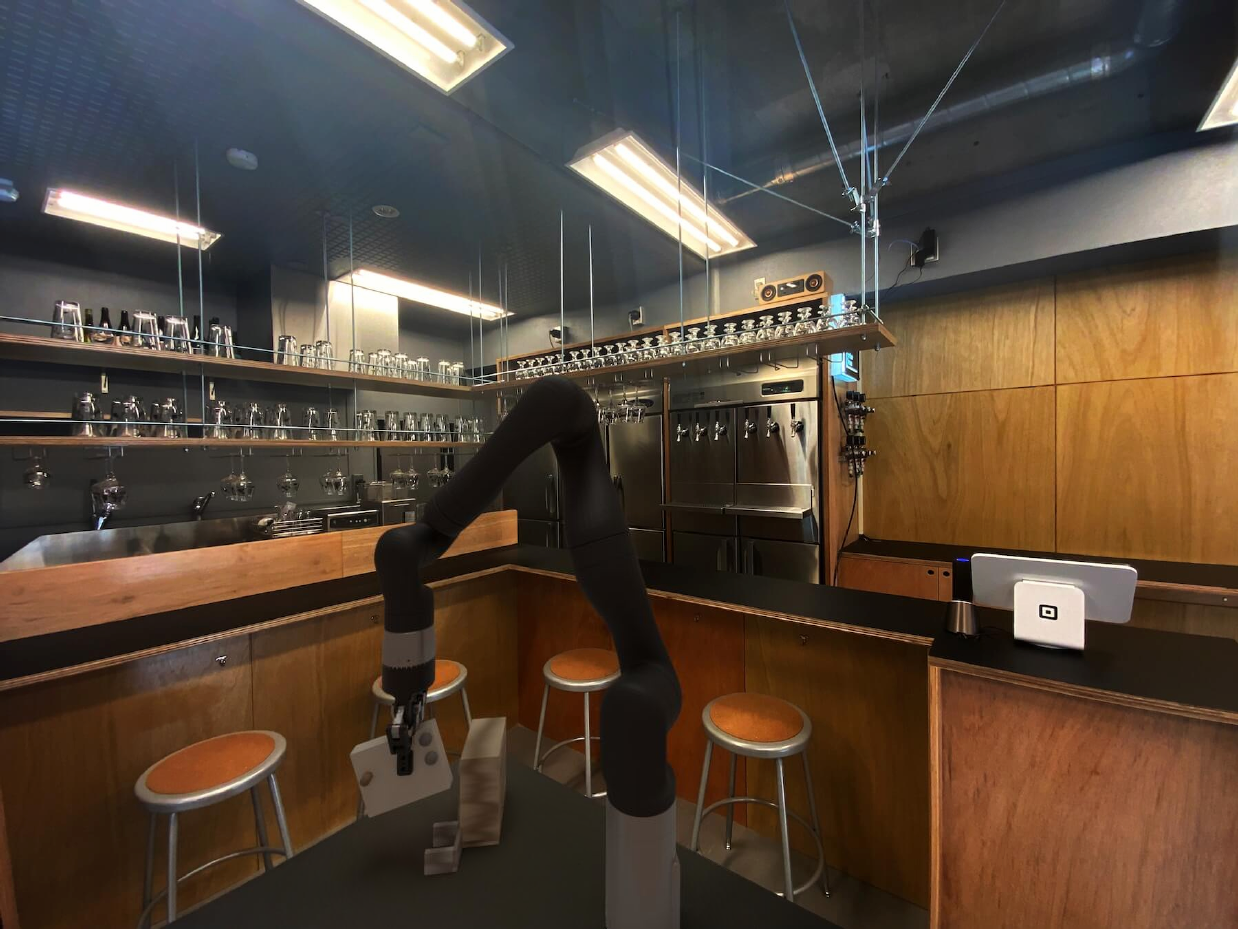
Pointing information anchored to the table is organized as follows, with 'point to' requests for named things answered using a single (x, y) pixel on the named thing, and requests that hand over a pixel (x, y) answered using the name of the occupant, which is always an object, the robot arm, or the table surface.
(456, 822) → the cabinet
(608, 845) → the robot arm
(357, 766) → the door
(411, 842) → the table surface
